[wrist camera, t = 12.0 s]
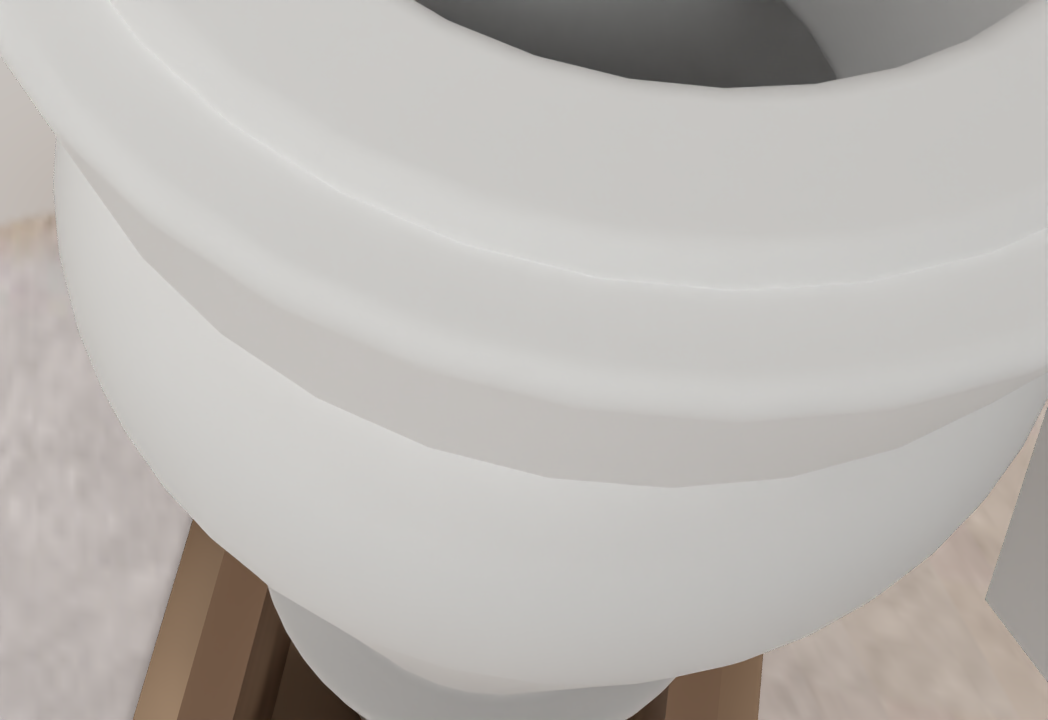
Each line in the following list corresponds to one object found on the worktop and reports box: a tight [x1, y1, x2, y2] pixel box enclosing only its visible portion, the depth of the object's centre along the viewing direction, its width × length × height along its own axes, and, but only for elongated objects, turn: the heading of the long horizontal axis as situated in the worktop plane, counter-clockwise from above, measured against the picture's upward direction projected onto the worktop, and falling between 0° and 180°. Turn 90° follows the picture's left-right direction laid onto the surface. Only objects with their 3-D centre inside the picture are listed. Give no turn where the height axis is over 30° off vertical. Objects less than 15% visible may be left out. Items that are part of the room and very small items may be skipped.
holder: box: [133, 519, 763, 720], centre depth 21 cm, size 14×14×5 cm
